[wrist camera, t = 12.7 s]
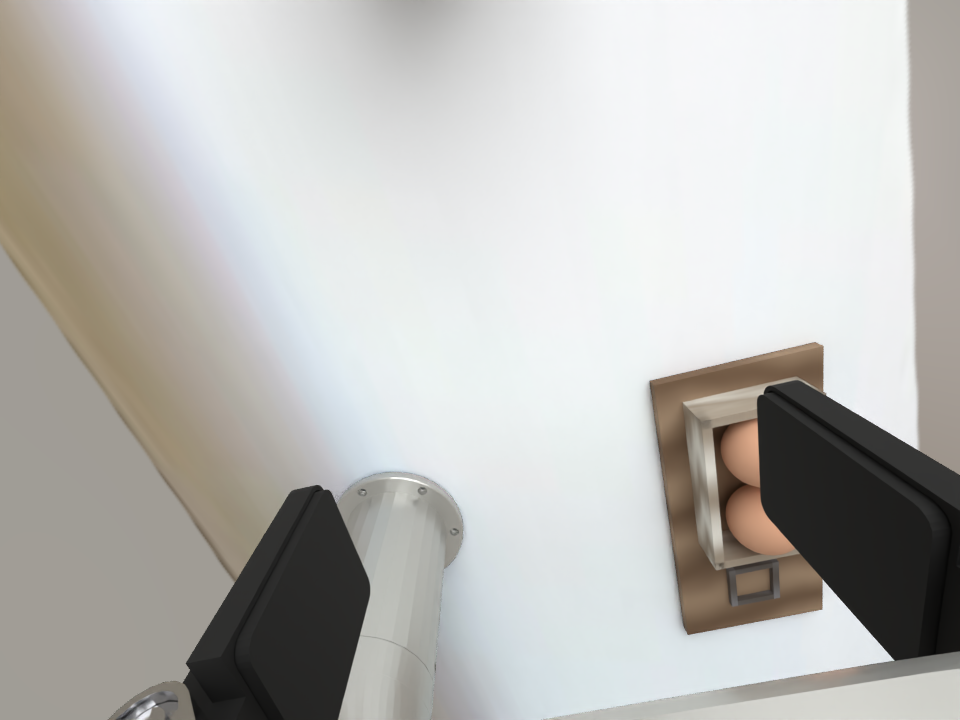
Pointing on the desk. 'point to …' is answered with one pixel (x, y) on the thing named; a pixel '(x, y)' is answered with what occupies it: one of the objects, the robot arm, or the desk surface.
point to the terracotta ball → (754, 523)
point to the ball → (742, 451)
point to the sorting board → (725, 493)
